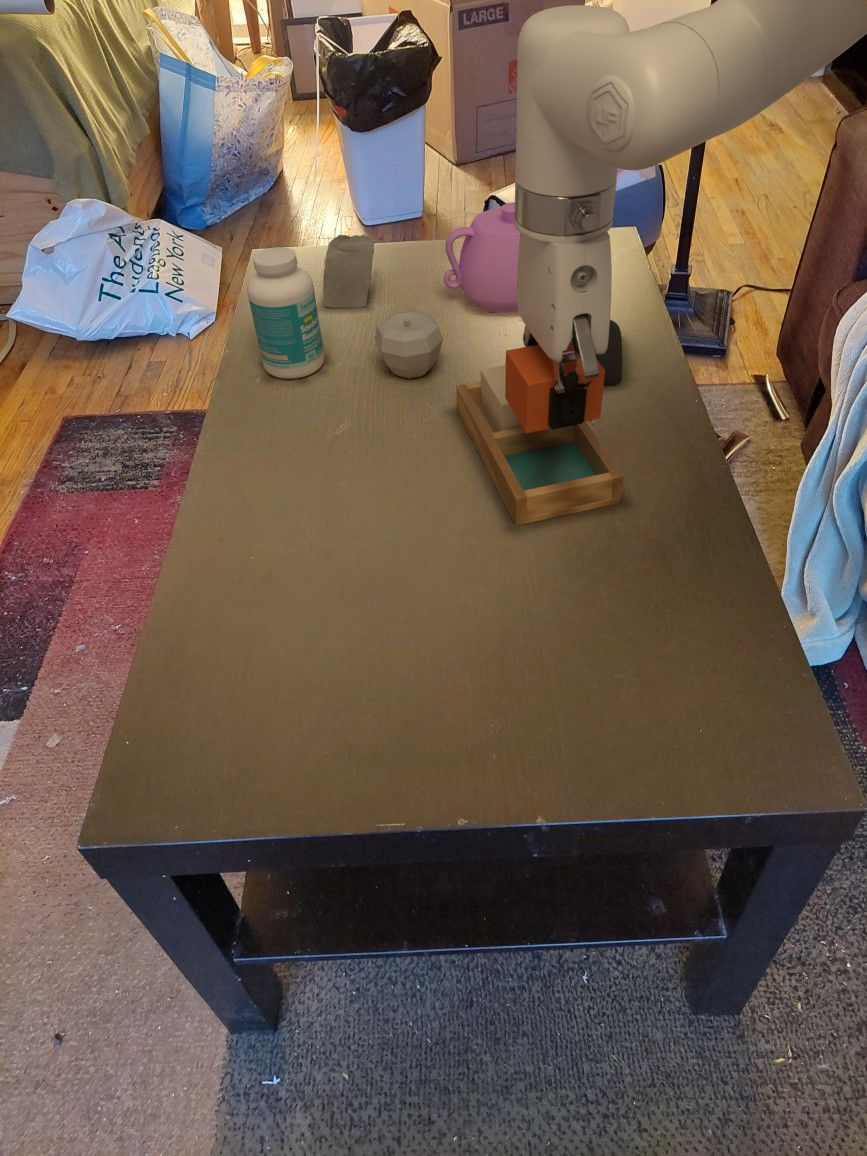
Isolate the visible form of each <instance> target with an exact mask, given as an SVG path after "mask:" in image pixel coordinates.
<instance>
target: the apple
mask: <svg viewBox="0 0 867 1156" xmlns="http://www.w3.org/2000/svg"><path fill="white" fill-rule="evenodd" d="M374 334H375V335H374V341H375V343H376V345H377V348H378V350H379V352H380V354H381V357H382V359H383V361H384V363H385V364H386V366H387V367H388V368H389V369H390V371H391V372H392V373H393V374H394V375H396V376H398V377H401V378H404V379H405V378H406V379H410V380H411V379H415V378H420V377H423V376H425V374H427V372H428V371H430V369H431V368H432V367H433V366H434V364H435V363H436V361H437V359H439V356H440V353H441V349H442V345H443V341H444V338H443V336H442V333H441V330H440V327H439V325H438V323H437V322H436V320H435V318H434V317H433V315H431V314H429V313H425V312H420V311H415V310H406V311H401V312H396V313H390V314H389V315H388V316H387V317H385V319H383V320H382V321H381V322H380V323H379V324H378V325H377V326H376V329H375V333H374Z"/></svg>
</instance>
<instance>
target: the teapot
mask: <svg viewBox="0 0 867 1156" xmlns="http://www.w3.org/2000/svg"><path fill="white" fill-rule="evenodd" d="M514 219H515V201H514V202H507V203H504V204H502V205H501V207H499V208H493V209H489V210H488V209H487V210H484V211H482V212H480V213H478V214H477V215H475V216H474V218H473V220H472V221H471V223H470V225H469V226H460V227H457V228H455V229H453V230H452V231H451V232H450V233H449V234H448V235H447V237H446V239H445V245H444V246H445V253H446V257H447V259H448V261H449V264H450V266H451V269H448V270H447V271H445V274H444V276H443V282H444V285H445V286H446V287H447V288H449V289H453V290H456V289H457V290H458V289H460V288H461V290H462V291H463V294H464V296H465V297H466V299H467V300H468V301H469V302H470V303H471V305H472V306H473V307H474V308H475V309H477V310H480V311H482V312H487V313H489V314H499V313H505V314H506V313H509V314H510V313H519V311H518V305H517V269H518V253H519V241H520V232H519V231H518V230H517V229H516V227H515V224H514ZM461 237H464V240H463V243H462V247H461V249H460V255H459V261H458V260H457V258H456V255H455V251H454V248H453V246H454V242H455V241H456V240H457V239H459V238H461ZM451 276H455V279H454V280H452V279H450V277H451Z"/></svg>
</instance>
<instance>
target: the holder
mask: <svg viewBox="0 0 867 1156" xmlns="http://www.w3.org/2000/svg"><path fill="white" fill-rule="evenodd" d="M455 392H456V412H457V414H458V416H459V418H460V420H461V422H462V424H463V426H464V427H465V429H466V431H467V434H468V435H469V437H470V439H471V441H472V443H473V445H474V447H475V449H476V451H477V453H478V455H479V457H480V459H481V460H482V463H483V465H484V466H485V468H486V471H487V473H488V475H489V476H490V478H491V480H492V483H493V484H494V486H495V488H496V490H497V492H498V494H499V496H500V498H501V500H502V502H503V504H504V505H505V508H506V510H507V512H508V513H509V516H510V517H511V519H512V521H513V523H514V524H515V527H517V526H523V525H527V524H531V523H537V522H541V521H545V520H550V519H554V518H559V517H564V516H568V515H572V514H577V513H581V512H585V511H586V512H587V511H590V510H596V509H600V508H604V507H609V506H613V505H619V504H621V501H622V492H623V487H624V485H623V484H624V478H625V475H624V474H623V472H622V471H621V470H620V469H619V466H618V465H617V464H616V463H615V461H614V460H613V459H612V457H611V455H610V454H609V453H608V451H607V450H606V448H605V447H604V445H603V444H602V442H601V441H600V440H599V438H598V437H597V436H596V434H595V433H594V431H593V430H592V428H591V427H590V426H589V423H587V421H586V422H583V423H582V424H579V425H574V426H569V427H564V428H559V429H546V430H541V431H536V432H531V433H526V432H525V430H524V428H523V427H520V428H515V429H510V430H505V431H500V432H496V433H494V432H493V430H492V428H491V427H490V425H489V423H488V421H487V419H486V417H485V416H484V414H483V412H482V410H481V380H479V381H475V382H469V383H465V384H459V385H455Z"/></svg>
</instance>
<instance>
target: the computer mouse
mask: <svg viewBox="0 0 867 1156" xmlns="http://www.w3.org/2000/svg"><path fill="white" fill-rule="evenodd" d="M621 331H622V330H621V328H620V326H619V325H618V323H617V322H616V321H614V320H611V319H610V326H609V339H608V347H607V350H606V352H605V353H604V354H602V355H599V354H597V355H596V353H595V355H596V359H597V360H598V362H599V363H600V364H601V366H602V367H603V368H604V369H605V376H604V386H603V387H615V386H617V385H619V384H621V382H622V378H623V339H622V332H621Z"/></svg>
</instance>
